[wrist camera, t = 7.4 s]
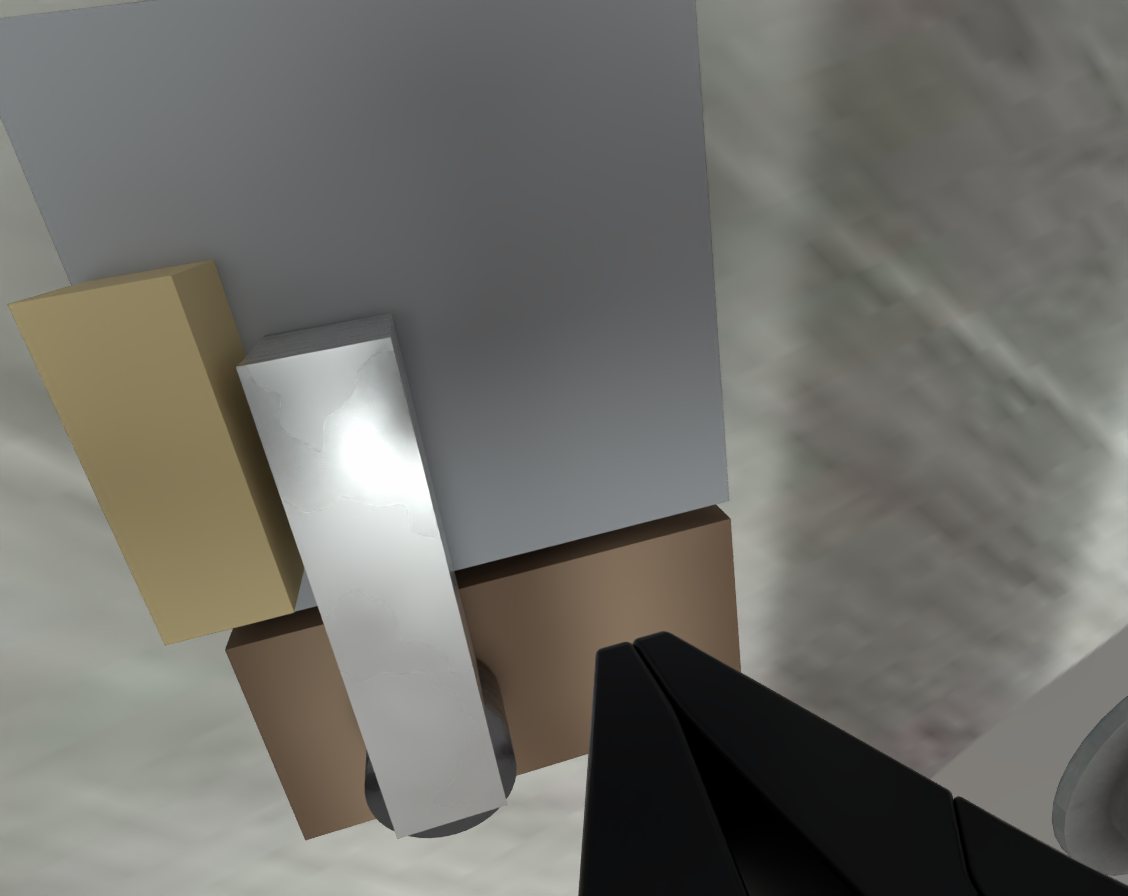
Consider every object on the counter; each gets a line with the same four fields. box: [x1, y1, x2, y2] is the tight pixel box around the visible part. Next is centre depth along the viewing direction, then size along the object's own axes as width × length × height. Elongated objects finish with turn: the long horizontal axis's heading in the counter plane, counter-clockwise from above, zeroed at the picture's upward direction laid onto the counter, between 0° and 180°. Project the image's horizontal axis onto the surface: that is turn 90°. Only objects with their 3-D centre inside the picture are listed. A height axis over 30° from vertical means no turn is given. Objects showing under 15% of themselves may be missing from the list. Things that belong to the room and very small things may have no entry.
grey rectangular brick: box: [0, 0, 729, 645], centre depth 14 cm, size 12×12×7 cm
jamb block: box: [225, 504, 741, 840], centre depth 19 cm, size 12×6×4 cm, turn 98°
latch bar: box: [236, 313, 517, 839], centre depth 14 cm, size 11×3×2 cm, turn 8°
